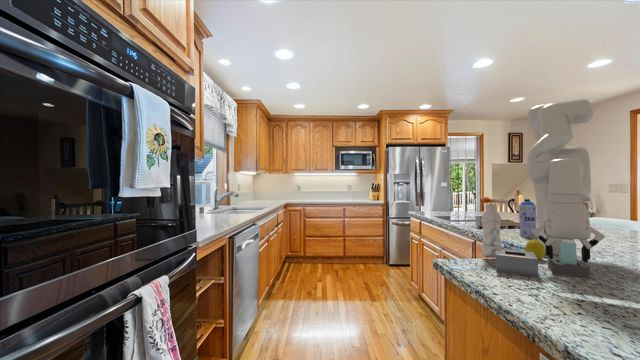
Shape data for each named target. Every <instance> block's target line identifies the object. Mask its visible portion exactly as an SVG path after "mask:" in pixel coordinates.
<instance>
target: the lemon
mask: <svg viewBox="0 0 640 360" xmlns="http://www.w3.org/2000/svg"><path fill="white" fill-rule="evenodd" d="M524 251H525V252H533V253H534V254H535V256H536V257H537V259H538V261H539V260H542V259H543V258H544V257H545V255H546V253H545V248H544V246H543V244H542V243H541V242H539V241H537V238H533V239H531V240H528V241H527V242H526V244H525V248H524Z"/></svg>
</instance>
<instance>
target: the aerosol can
mask: <svg viewBox="0 0 640 360" xmlns="http://www.w3.org/2000/svg"><path fill="white" fill-rule="evenodd" d="M518 216H519V217H518V218H519V219H518V220H519V223H518V224H519V236H520V237H525V238H526V237H527V238H537V236H536V235H535V234H534V233H533V232H532V231H533V230H534V229H536V228H537V208H536V204H535V203H534V202H532V201H531V199H529V198H524V201H522V202H520V204H519V205H518Z"/></svg>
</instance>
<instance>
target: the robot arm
mask: <svg viewBox="0 0 640 360" xmlns="http://www.w3.org/2000/svg"><path fill="white" fill-rule="evenodd" d="M593 115H594V108H593V104H592V103H591V102H590V101H589V100H588V99H585V98H582V99H571V100H567V101H566V100H564V101H559V102H549V103H542V104H540V105H539V104H538V105H535V106H534V107H531V108H530V109H529V110H528V113H527V119H528V123H529V127H530V129H531V130H532V133H533V135H534V137H535V142H534V144H533V145H532V146H531V148H530V149H529V150H528V153H527V155H526V172H527V177H528V179H529V181H530V182H531V183H533V184H532V185H533V191H534V192H533V193H534V197H535V203H536V204H535V205H536V221H537V228H536V229H534V230H533V231H532V232H533V233H534V234H535V235H536V236H537V237H536V240H537V241H539V242H541V243H542V244H543V246H544V248H545V255H546V257H547V256H548V257H547V259H548V258H549V259H553V258H554V255H557V256H558V240H559V238H564V239H574V240H579V241H580V243H581V244H582V246H581V247H580V248H581V249H580V250H581V251H580V252H581V261H582V262H583V263H585V264H588V263H589V261H590V260H591V249H592V248H593V247H595V246H596V245H598V244H599V242H601V241H602V240H603V239H605V238H606V237H605V236H606V235H604V234H603V233H602V232H599V231H598V230H597V229H595V228H594V227H592V226H591V222H590V216H589V212H588V209H587V206H586V204H585V205H584V202H590V199H591V198H590V195H591V191H592V177H591V160H590V159H591V158H590V153H589V151H588V149H586V147H584V146H579V145H575V146H574V145H572V146H567V145H568V144H570V143H571V141H572V140H573V138H574V133H573V128H572V125H577V124H578V125H580V124H581V125H582V124H588V123H589V122H590V121H591V120H592V118H593ZM592 234H593V235H594V237H593V238H592V239H590V238H591V236H592ZM589 239H590V240H589Z"/></svg>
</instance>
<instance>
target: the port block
mask: <svg viewBox="0 0 640 360" xmlns="http://www.w3.org/2000/svg"><path fill="white" fill-rule="evenodd" d="M495 254H496V257H495V271H496V273H502V274H508V275H515V276H517V275H518V276H523V277H524V276H525V277H532V278H539V260H538V259H537V257H536V256H535V254H534V253H533V252H525V250H523V251H522V250H512V249H504V248H503V249H495Z"/></svg>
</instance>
